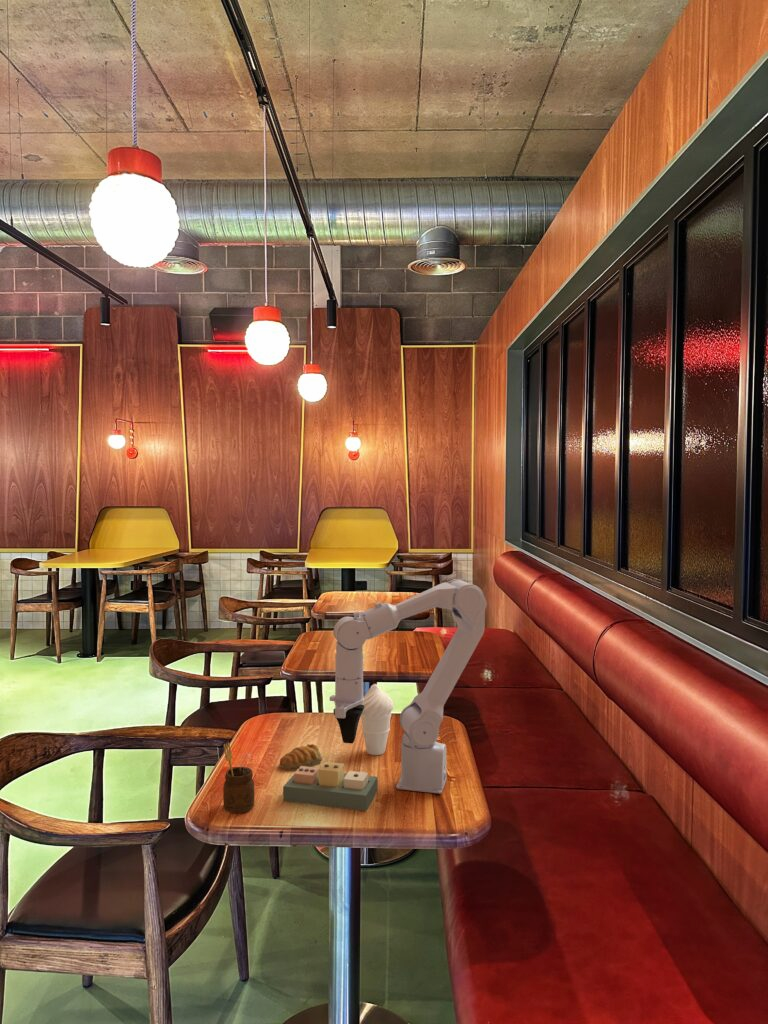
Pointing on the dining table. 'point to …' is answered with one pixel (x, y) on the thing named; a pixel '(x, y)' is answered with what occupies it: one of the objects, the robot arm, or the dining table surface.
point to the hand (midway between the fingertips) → (348, 742)
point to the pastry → (301, 757)
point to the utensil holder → (238, 786)
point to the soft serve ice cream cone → (376, 720)
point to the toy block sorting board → (331, 794)
